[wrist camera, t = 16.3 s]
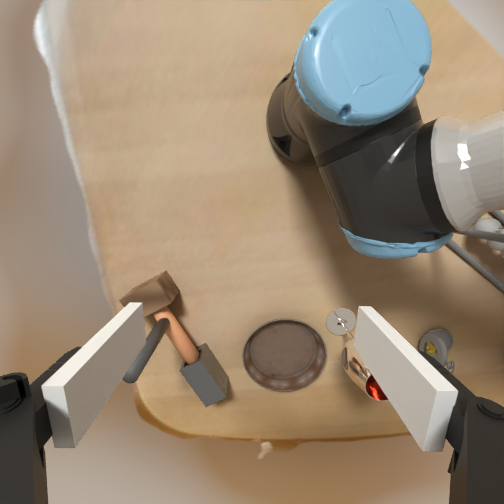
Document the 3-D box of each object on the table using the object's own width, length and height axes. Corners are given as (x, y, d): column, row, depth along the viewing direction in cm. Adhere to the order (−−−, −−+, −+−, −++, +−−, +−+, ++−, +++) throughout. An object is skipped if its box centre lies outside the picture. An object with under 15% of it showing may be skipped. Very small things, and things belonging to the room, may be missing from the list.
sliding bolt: (209, 362, 54) (191, 440, 37) (197, 368, 54) (174, 448, 37) (159, 290, 50) (114, 340, 33) (147, 296, 50) (96, 350, 33)
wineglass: (366, 326, 54) (421, 391, 37) (332, 344, 55) (371, 416, 38) (349, 296, 52) (399, 350, 35) (314, 316, 53) (346, 377, 36)
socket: (179, 290, 52) (171, 303, 46) (147, 308, 53) (135, 322, 47) (166, 270, 51) (156, 280, 45) (133, 288, 51) (119, 300, 46)
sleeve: (228, 377, 57) (226, 397, 51) (210, 385, 57) (206, 407, 52) (205, 343, 55) (200, 360, 49) (186, 352, 55) (179, 370, 50)
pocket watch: (452, 346, 56) (496, 379, 46) (416, 361, 56) (451, 397, 47) (442, 316, 54) (485, 344, 44) (405, 332, 55) (439, 363, 45)
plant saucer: (277, 395, 59) (279, 406, 56) (226, 345, 55) (224, 354, 52) (338, 351, 56) (343, 360, 53) (288, 295, 53) (290, 302, 50)
